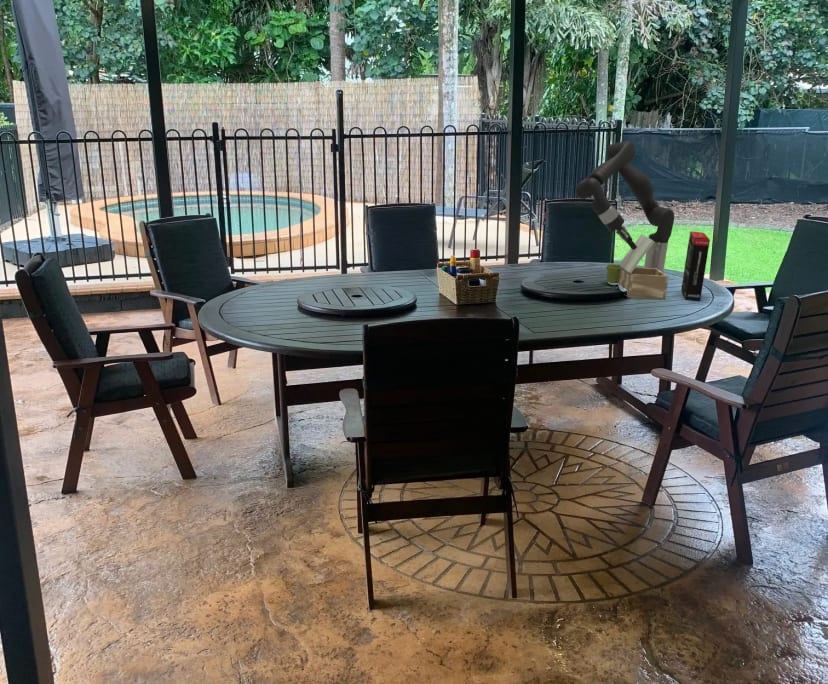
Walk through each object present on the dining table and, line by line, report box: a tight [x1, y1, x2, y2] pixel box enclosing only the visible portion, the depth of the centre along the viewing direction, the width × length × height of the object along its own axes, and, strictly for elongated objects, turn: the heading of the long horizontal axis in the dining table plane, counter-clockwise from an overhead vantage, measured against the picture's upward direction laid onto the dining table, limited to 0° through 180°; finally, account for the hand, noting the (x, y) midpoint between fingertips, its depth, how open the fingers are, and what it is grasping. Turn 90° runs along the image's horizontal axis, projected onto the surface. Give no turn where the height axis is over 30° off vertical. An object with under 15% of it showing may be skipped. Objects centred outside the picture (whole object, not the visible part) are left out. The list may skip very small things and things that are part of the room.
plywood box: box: [619, 266, 669, 300], centre depth 336 cm, size 16×16×10 cm
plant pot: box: [605, 263, 621, 283], centre depth 350 cm, size 9×9×9 cm
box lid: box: [617, 233, 654, 274], centre depth 332 cm, size 16×17×1 cm
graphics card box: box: [681, 230, 711, 301], centre depth 335 cm, size 17×7×27 cm, turn 168°
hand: (634, 248), depth 334 cm, fingers closed
